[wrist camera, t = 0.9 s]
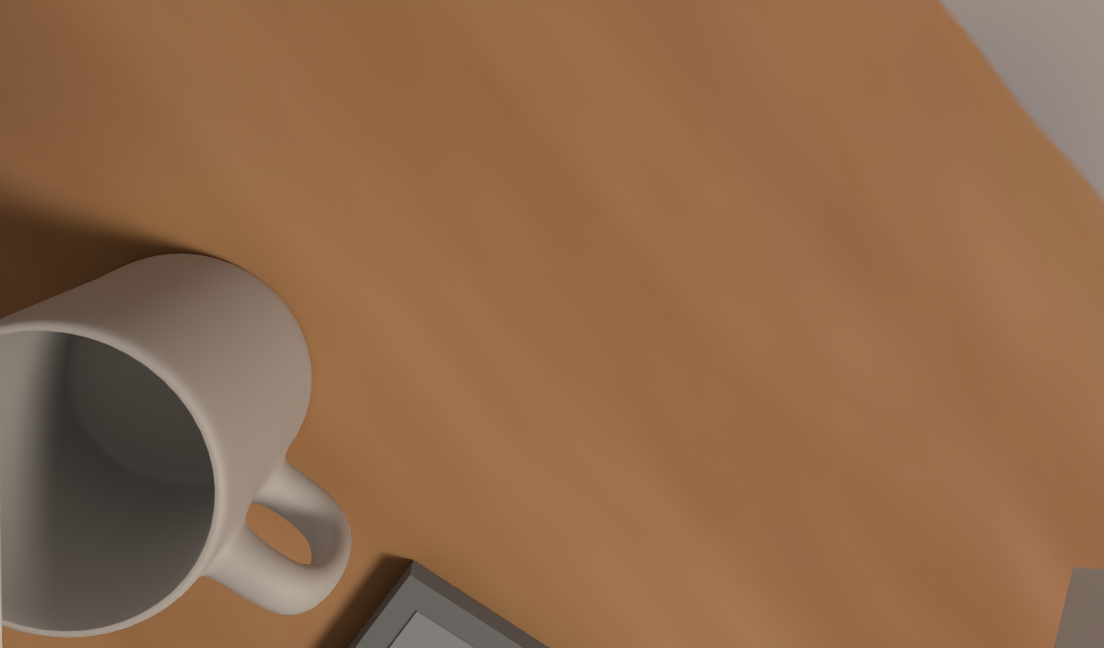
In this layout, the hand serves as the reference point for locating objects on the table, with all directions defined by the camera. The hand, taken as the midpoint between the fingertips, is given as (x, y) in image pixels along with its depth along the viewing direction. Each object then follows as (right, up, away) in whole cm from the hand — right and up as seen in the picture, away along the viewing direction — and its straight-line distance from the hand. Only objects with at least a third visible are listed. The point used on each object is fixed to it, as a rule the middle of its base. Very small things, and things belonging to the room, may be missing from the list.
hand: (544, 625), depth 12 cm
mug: (-11, +1, +24) cm, 26 cm away
